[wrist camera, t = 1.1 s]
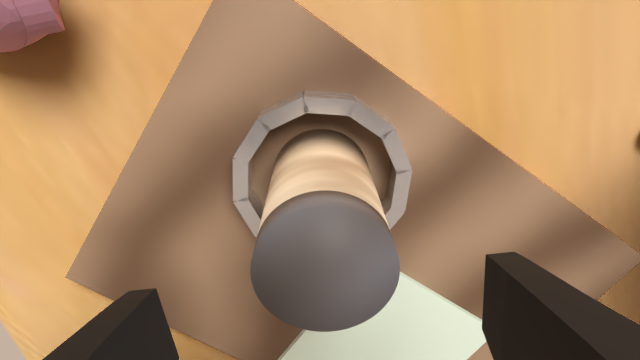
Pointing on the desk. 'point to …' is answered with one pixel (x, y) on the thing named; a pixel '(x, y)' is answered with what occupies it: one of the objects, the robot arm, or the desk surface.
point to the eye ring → (320, 104)
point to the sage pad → (398, 331)
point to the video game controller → (27, 22)
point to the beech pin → (323, 237)
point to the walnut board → (217, 176)
